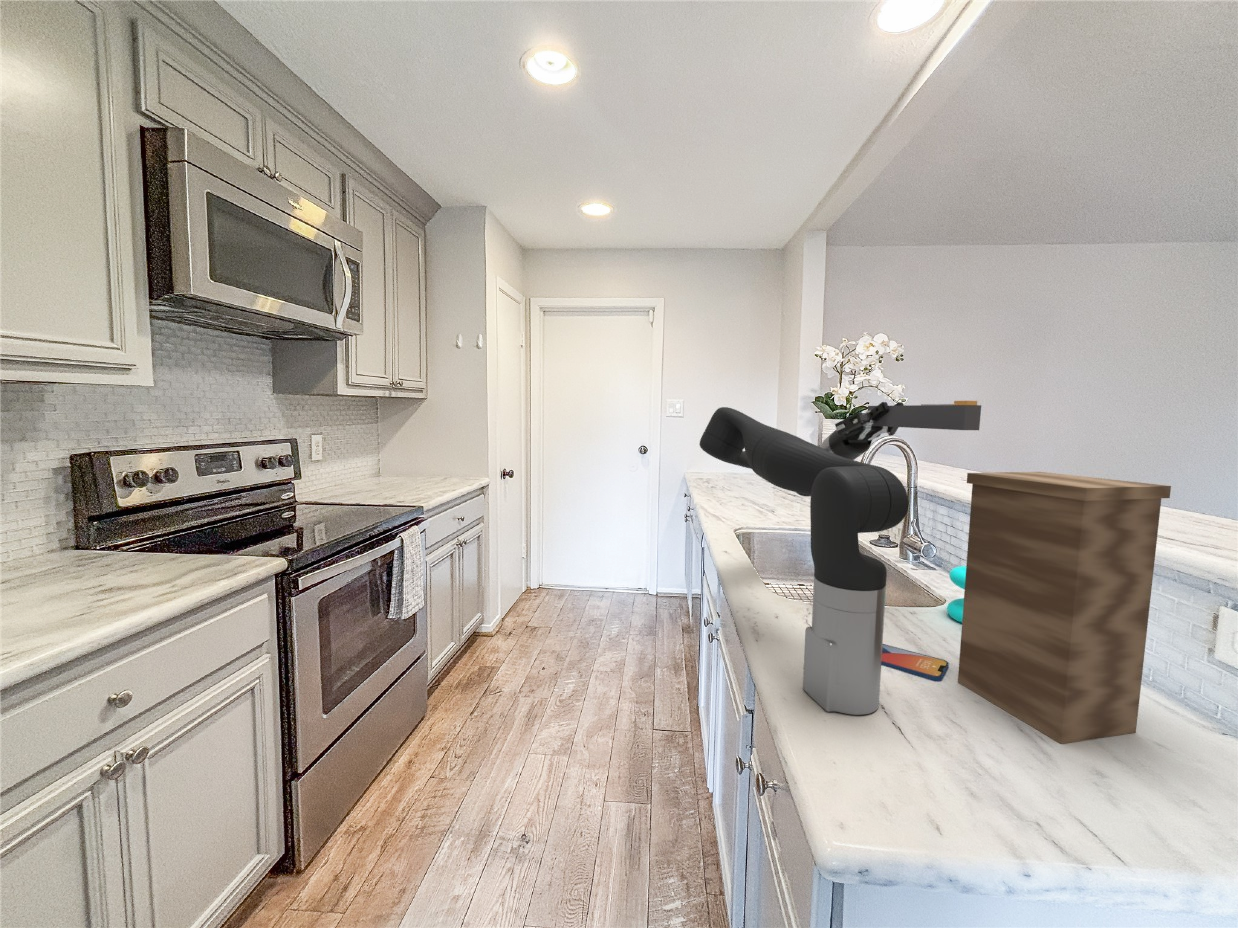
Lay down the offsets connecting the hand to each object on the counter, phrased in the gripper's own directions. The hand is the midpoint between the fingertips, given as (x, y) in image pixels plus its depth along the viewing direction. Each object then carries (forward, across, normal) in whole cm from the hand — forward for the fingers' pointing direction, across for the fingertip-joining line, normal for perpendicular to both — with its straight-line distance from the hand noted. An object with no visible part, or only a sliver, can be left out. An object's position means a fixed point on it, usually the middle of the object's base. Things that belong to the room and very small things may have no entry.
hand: (894, 406), depth 98 cm
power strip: (+3, 0, +6) cm, 7 cm away
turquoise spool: (-17, +18, +39) cm, 46 cm away
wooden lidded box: (+6, 0, +52) cm, 53 cm away
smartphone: (-8, -10, +45) cm, 47 cm away
